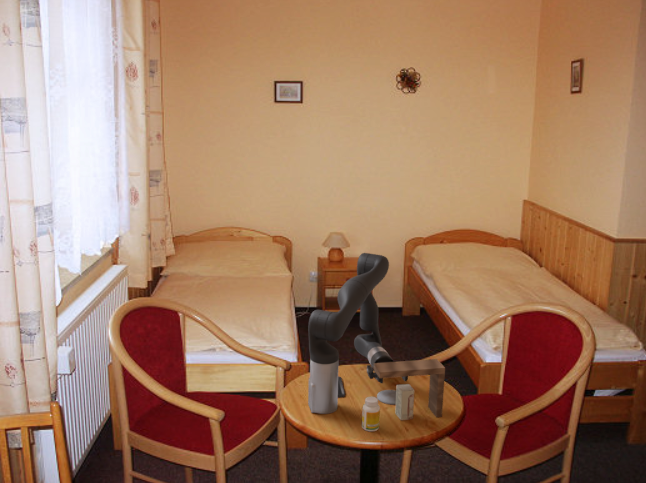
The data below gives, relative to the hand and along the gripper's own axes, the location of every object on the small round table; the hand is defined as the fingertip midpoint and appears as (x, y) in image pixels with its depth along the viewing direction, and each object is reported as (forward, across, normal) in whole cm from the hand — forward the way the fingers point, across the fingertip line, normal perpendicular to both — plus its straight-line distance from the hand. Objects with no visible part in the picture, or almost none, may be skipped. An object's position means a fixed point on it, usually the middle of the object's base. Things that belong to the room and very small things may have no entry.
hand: (394, 379), depth 208 cm
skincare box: (+12, 0, +7) cm, 14 cm away
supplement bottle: (+17, -13, +7) cm, 22 cm away
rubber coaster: (-1, 0, +7) cm, 7 cm away
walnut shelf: (+11, +1, +7) cm, 13 cm away
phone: (-12, -19, +8) cm, 24 cm away
